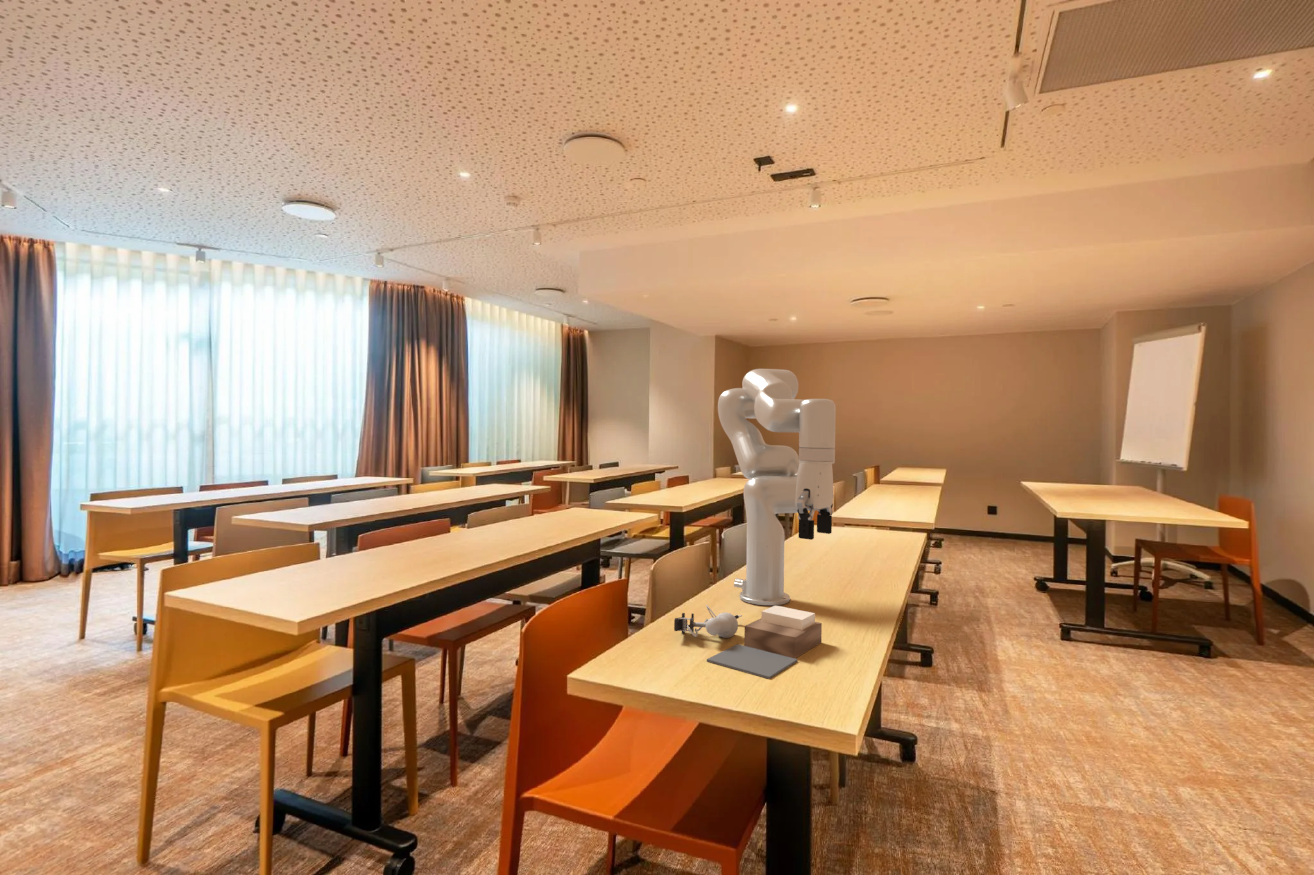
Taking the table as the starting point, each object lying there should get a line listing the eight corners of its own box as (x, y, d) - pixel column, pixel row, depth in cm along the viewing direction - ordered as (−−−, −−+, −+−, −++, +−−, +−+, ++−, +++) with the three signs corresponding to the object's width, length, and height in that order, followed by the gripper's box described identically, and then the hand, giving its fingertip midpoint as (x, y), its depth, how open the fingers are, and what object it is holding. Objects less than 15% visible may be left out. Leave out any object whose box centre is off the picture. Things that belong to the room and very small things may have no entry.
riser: (744, 645, 125) (744, 625, 125) (772, 631, 135) (773, 612, 135) (795, 658, 118) (795, 637, 118) (821, 642, 128) (821, 623, 128)
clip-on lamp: (701, 633, 143) (668, 637, 127) (701, 604, 144) (669, 605, 128) (751, 636, 138) (723, 641, 122) (751, 606, 139) (723, 607, 123)
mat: (706, 661, 116) (706, 659, 116) (737, 646, 125) (737, 644, 125) (769, 679, 108) (769, 676, 108) (797, 661, 117) (797, 659, 117)
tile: (761, 621, 129) (761, 611, 129) (775, 614, 133) (775, 605, 133) (802, 630, 123) (802, 620, 123) (814, 623, 128) (815, 613, 128)
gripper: (815, 454, 144) (814, 529, 144) (783, 456, 130) (781, 539, 130) (848, 456, 139) (846, 532, 140) (817, 458, 126) (816, 543, 126)
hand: (815, 535), depth 135 cm, fingers open, 9 cm apart
